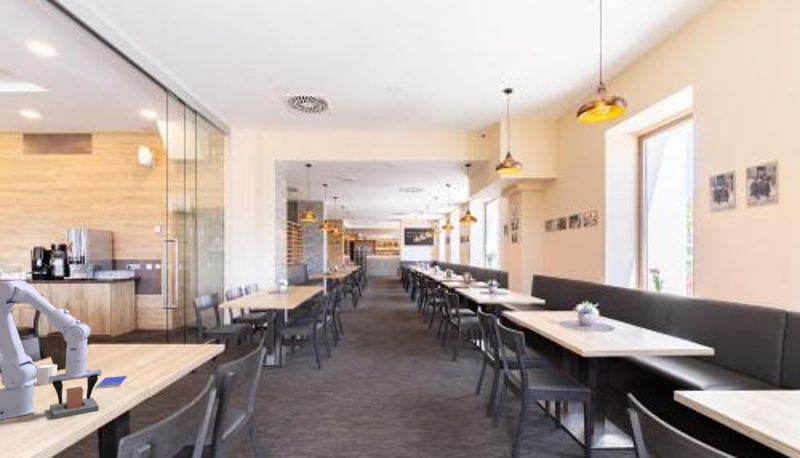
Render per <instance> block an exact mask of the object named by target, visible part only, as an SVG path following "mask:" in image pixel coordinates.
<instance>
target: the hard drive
mask: <svg viewBox="0 0 800 458" xmlns="http://www.w3.org/2000/svg"><path fill="white" fill-rule="evenodd" d="M127 379H128V376H127V375H123V376H122V375H121V376H109V377H108V376H107V377H104V378H103V379H102V380H101V381H100V382H99V384H97V385H96V389H105V388H115V387H116V388H117V387H118V388H119V387H121V386H122V385H123V384H124V383H125V382H126V380H127Z"/></svg>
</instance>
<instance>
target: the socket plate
mask: <svg viewBox="0 0 800 458" xmlns="http://www.w3.org/2000/svg"><path fill="white" fill-rule="evenodd" d="M99 409H100V408H99V404H98V403H97V401H96V400H95V398H93V397H92V396H91V397H90V399H87V397H86V398H83V402H82V406H81V407H76V408H71V409H66V401H65V402H62V404H59V402H58V403H53V404H49V411H50V413H51V415H52V416H51V417H52V419H53V420H58V419H62V418H68V417H72V416H76V415H77V416H78V415H82V414H88V413H92V412H97V411H99Z"/></svg>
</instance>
